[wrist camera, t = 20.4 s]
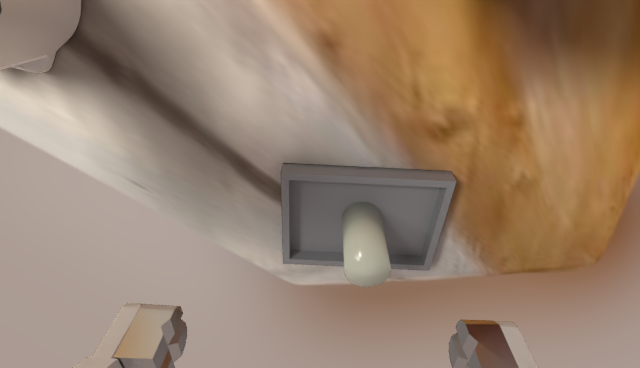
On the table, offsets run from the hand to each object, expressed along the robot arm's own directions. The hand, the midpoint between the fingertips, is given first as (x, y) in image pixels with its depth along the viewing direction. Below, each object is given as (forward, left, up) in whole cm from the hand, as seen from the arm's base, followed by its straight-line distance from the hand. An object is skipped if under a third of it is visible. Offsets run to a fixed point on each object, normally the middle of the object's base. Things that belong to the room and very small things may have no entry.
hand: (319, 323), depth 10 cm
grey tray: (+6, -22, -33) cm, 40 cm away
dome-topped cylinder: (+6, -22, -32) cm, 40 cm away
